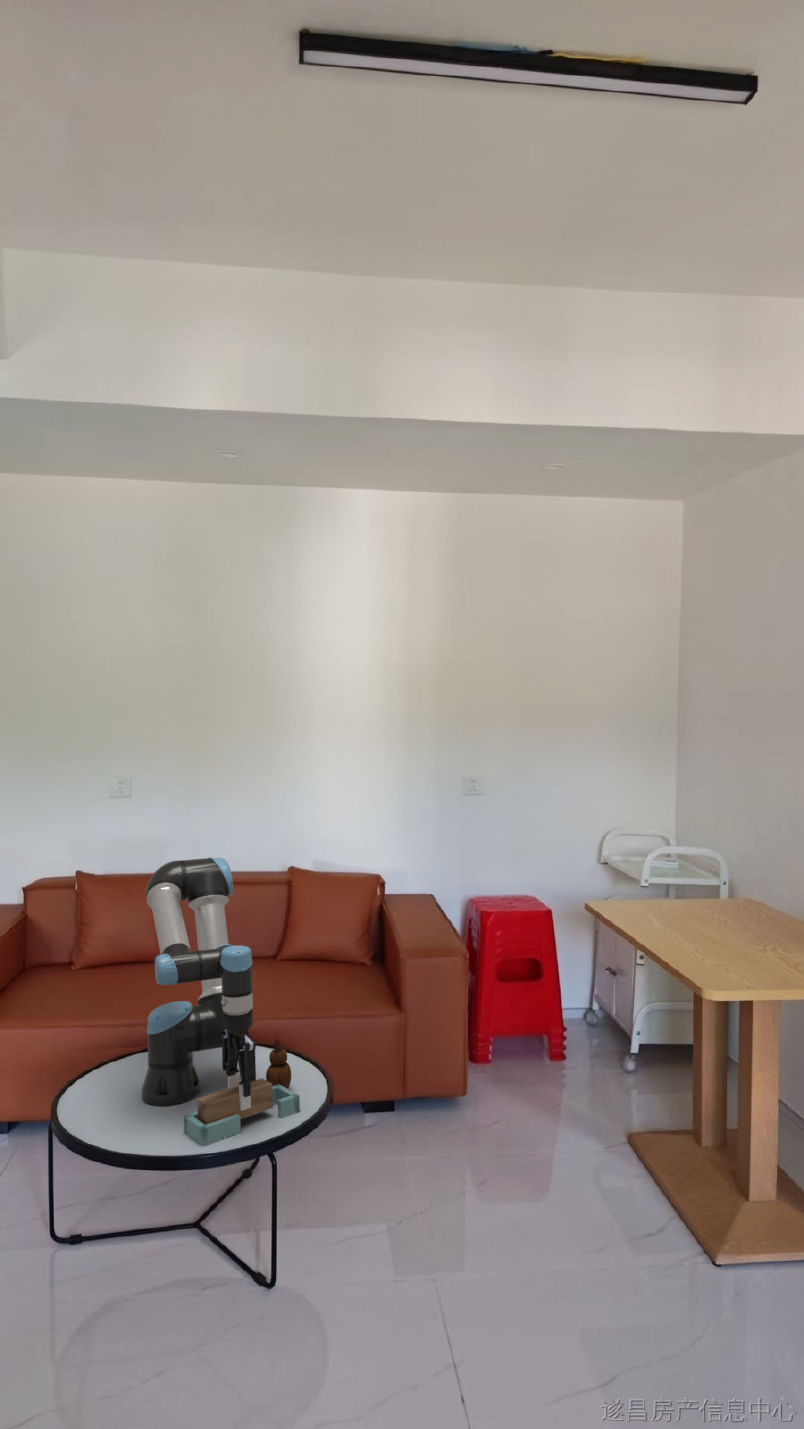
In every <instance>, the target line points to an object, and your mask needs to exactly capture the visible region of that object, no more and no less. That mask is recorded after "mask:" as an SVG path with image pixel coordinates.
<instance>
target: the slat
mask: <svg viewBox="0 0 804 1429" xmlns="http://www.w3.org/2000/svg"><path fill="white" fill-rule="evenodd" d="M273 1108H274V1104H273V1094H272V1083H270V1082H268V1081H266V1079H265V1078H259V1079H256V1081H254V1082H251V1108H249V1109H246V1110H243V1111H240V1097H239V1086H236V1087H233V1088H230V1089H228V1088H227V1089H225V1090H222V1091H217V1092H215V1093H212V1094H208V1095H206V1096H202V1097H199V1098H197V1111H198V1120H199V1121H200V1122H202V1123H203V1124H204V1125H207V1124H210V1123H213V1122H216V1121H218V1120H221V1119H224V1118H227V1117H230V1116H233V1115H236V1114H238V1115H239V1116H240V1120H243V1119H246V1118H248V1117H251V1116H253V1115H256V1114H259V1113H262V1112H265V1111H268V1110H271V1109H273Z"/></svg>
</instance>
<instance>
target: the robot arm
mask: <svg viewBox="0 0 804 1429" xmlns="http://www.w3.org/2000/svg"><path fill="white" fill-rule="evenodd" d="M233 882H234V880H233V874H232V872H231V868H230V865H229V863H228V862H227V861H226V859H224V858H223V857H208V858H197V859H196V858H195V859H183V860H173V861H168V862H167V863H165V864H163V865H162V866H160V867H159V868H158V869H156V870H155V872H154V873H153V874H152V876H150V878H149V881H148V883H147V886H146V888H145V897H146V903H147V906H148V907H149V908H150V909H151V910H152V917H153V920H154V926H155V932H156V936H157V937H156V938H157V943H158V948H159V952H160V953H159V955H156V956H155V959H154V974H155V982H156V984H158V985H159V986H168V985H170V986H171V985H172V986H176V985H179V984H180V985H181V984H187V983H194V982H200V981H201V991H202V992H201V995H200V996H199V997H198V999H197V1005H196V1006H193V1005H192V1002H190V1001H188V1000H183V1001H181V1000H178V1001H177V1000H176V1001H170V1002H168V1003H165V1004H162V1005H159V1006H158V1007H157V1006H156V1007H155V1008H154V1009H153V1010H151V1012H150V1013H149V1015H148V1017H147V1029H146V1033H147V1061H148V1062H147V1066H148V1067H147V1071H146V1074H145V1077H144V1081H143V1084H142V1088H141V1099H142V1101H143V1102H145V1103H146V1104H148V1105H153V1106H160V1107H161V1106H162V1107H163V1106H172V1105H178V1104H183V1103H185V1102H188V1101H190V1100H192V1099H194V1098H195V1097H197V1096H198V1095H199V1094H200V1092H201V1081H200V1078H199V1076H198V1072H197V1070H196V1066H195V1064H194V1055H193V1054H194V1053H195V1052H202V1051H207V1050H214V1049H219V1048H221V1054H222V1055H221V1061H222V1063H221V1064H222V1065H221V1066H222V1071H224V1072H225V1075H226V1076H227V1089H230V1088H233V1087H236V1086H239V1097H240V1111H243V1110H246V1109H249V1108H251V1082H254V1081H256V1080H257V1075H256V1074H257V1072H256V1071H257V1070H256V1068H257V1066H256V1048H257V1041H255V1040H252V1039H251V1038H250V1033H249V1032H250V1031H249V1029H250V1028H251V1027H252V1026H253V1024H254V1012H253V1011H254V1010H252V1009H253V1008H254V1002H253V1000H254V998H253V959H252V957H253V956H252V949H251V948H250V947H249V946H245V945H239V944H238V945H237V944H236V945H232V944H229V936H228V930H227V919H226V911H225V906H226V905H227V904H228V903H229V900H230V898H229V897H230V896H232V895H233V893H234V884H233ZM181 901H188V907H189V909H191V910H192V911H194V917H195V928H196V930H195V931H196V938H197V950H193V951H192V949H191V946H190V942H189V936H188V933H187V929H186V925H185V920H184V917H183V911H182V907H181V903H180V902H181Z"/></svg>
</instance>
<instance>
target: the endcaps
mask: <svg viewBox="0 0 804 1429" xmlns="http://www.w3.org/2000/svg"><path fill="white" fill-rule="evenodd" d="M272 1094H273V1105H276V1104H277V1116H278V1118H280V1119H281V1118H282V1119H283V1118H284V1117H288V1116H291V1115H293V1113H294V1114H296V1113H298V1112H300V1111H301V1110H300V1109H301V1108H300V1106H301V1105H300V1100H301V1099H300V1095H299V1094H297V1093H296V1092H294V1091H293V1090H290V1089H289V1088H288V1089H287V1088H285V1087H283V1086H282V1085H280V1084H278V1085H275V1086H272ZM295 1112H296V1113H295ZM290 1114H291V1115H290ZM183 1132H184V1133H185V1134H186V1135H187V1136H189V1137H190V1138H191V1139H192V1140H194V1141H195V1142H196V1143H197V1144H199V1145H200V1146H202V1145H203V1146H202V1147H205V1146H207V1145H208V1146H209V1145H210V1143H211V1144H213V1142H214V1143H216V1142H218V1141H217V1140H219V1141H221V1140H220V1139H222V1138H224V1137H227V1138H230V1137H233V1136H236V1135H238V1134H240V1133H241V1132H242V1130H241V1119H240V1116H239V1115H238V1114H236V1115H233V1116H230V1117H227V1118H224V1119H221V1120H218V1121H216V1122H213V1123H210V1124H207V1125H204V1124H203V1123H202V1122H200V1121H199V1120H198V1110H197V1111H195V1112H191V1113H188V1114H185V1115H184V1116H183ZM237 1133H238V1134H237ZM235 1134H236V1135H235ZM232 1135H233V1136H232ZM222 1140H223V1139H222ZM215 1141H216V1142H215ZM204 1145H205V1146H204Z"/></svg>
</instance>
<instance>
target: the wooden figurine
mask: <svg viewBox="0 0 804 1429" xmlns="http://www.w3.org/2000/svg"><path fill="white" fill-rule="evenodd" d="M281 1043H282V1042H281V1041H280V1040H279V1037H275V1039H274V1049H271V1051H270V1052H269V1063H270V1065H269V1067H268V1068H267V1069H266V1073H265V1080H266V1081H268V1082H270V1083H272V1086H275V1085H278V1084H280V1085H282V1086H283V1087H285V1088H287V1089H289V1088H290V1085H291V1081H292V1069H291V1066H290V1064H289V1062H287V1061H288V1053H287V1052H288V1051H287V1050H286V1049H285V1048H282V1044H281Z"/></svg>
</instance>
